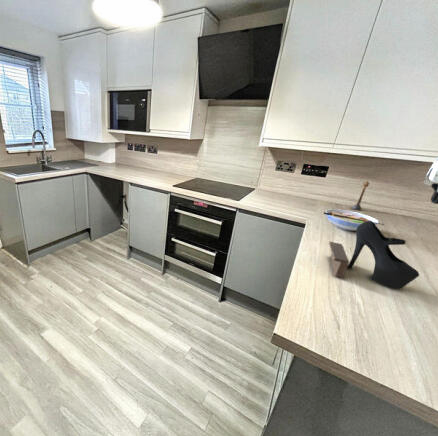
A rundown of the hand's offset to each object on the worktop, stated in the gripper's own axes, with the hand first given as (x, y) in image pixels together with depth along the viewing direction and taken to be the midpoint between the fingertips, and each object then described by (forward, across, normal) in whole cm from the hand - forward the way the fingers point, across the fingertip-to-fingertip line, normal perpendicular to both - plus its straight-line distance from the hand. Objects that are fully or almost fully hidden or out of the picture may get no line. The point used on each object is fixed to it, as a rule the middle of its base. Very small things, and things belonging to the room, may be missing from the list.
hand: (436, 203), depth 82 cm
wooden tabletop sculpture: (+27, +1, +91) cm, 95 cm away
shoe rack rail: (+27, -23, -15) cm, 39 cm away
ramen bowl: (+27, -12, +40) cm, 50 cm away
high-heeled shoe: (+27, -12, -15) cm, 34 cm away
